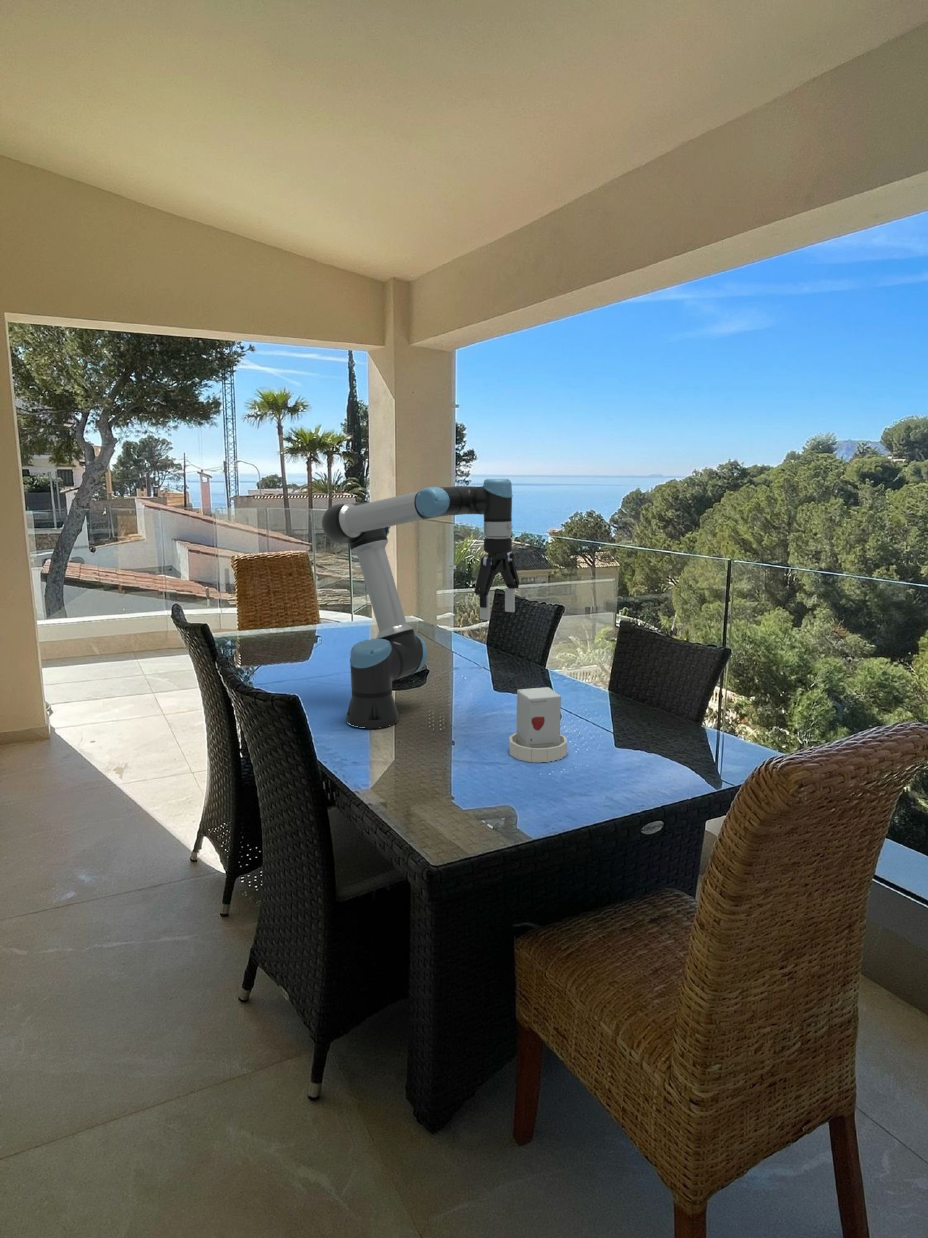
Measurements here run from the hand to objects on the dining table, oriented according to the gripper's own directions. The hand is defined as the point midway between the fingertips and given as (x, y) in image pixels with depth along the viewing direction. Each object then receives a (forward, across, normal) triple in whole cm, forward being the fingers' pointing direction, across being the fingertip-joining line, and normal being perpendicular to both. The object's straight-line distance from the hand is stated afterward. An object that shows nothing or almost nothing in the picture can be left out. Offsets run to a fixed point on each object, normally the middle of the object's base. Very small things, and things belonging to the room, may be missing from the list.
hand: (497, 615), depth 210 cm
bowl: (+33, -10, -18) cm, 38 cm away
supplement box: (+32, -9, -17) cm, 38 cm away
